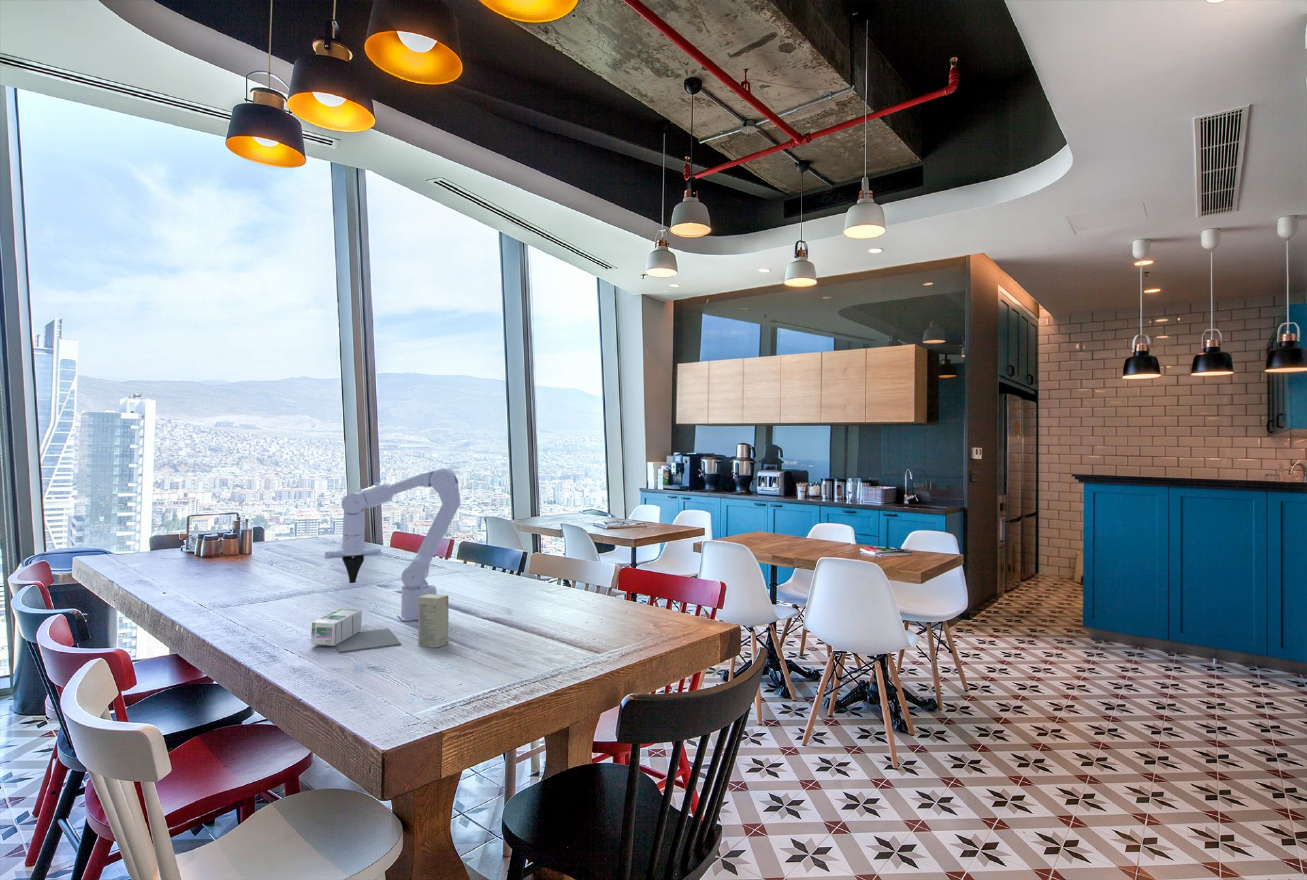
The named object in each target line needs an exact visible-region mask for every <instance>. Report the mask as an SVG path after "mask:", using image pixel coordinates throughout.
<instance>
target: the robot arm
mask: <svg viewBox="0 0 1307 880" xmlns="http://www.w3.org/2000/svg"><path fill="white" fill-rule="evenodd" d="M373 484H374V485H372V486H369V487H367V488H359V489H357V492H350V493H348V494H346V495H345V496H344V497H343V499H342V501H341V508H342V510H343V519H342V547H341V548H342V549H338V550H337V549H336V550H327V551H326V550H325V551H324V559H325V560H329V559H340V558H341V560H342V562H343V564H344V566H345V568H346V571H347V575H348V582H349V583H350V584H356V583H357V577H358V574H359V571H360V569H361V567H362V565H363V563H364V561H365V558H364V557H373V556H374V557H375V556H376V557H381V556H382V549H381V548H378V547H377V548H376V547H375V548H365V539H366V537H365V536H366V534H365V531H366V517H365V516H366V515H365V513H366V508H367V509H371V508H375V507H377V506H379V505H383V504H386V503H387V502H390V501H392V499H393V497H394V496H395V495H398V494H399V493H403V492H406V491H408V490H409V491H410V490H412V489H415V488H418V487H423V488H431V487H432V488H433V489H434V491H435V492H436V493H437V494H438V496H439V499H440V501H441V505H440V508H439V510H438V512H437V513H436V515H435V518H434V520H433V521H432V523H431V525H430V528H429V530H428V531H427V534H426V535H425V537H424V539H423V540H422V543H421V544H420V547H419V548H418V551H417V553H416V554H415V556H414V558H413V560H412V561H411V562H410V563H409V564H408V565H407V567H406V568H405V569H403V571H402V573H401V577H400V578H401V581H402V583H403V584H402V585H401V607H400V613H397V614H396V615H397V616H398V618H399V619H400V620H401V621H402V622H407V621H417V620H418V597H420V596H423V595H427V594H438V593H437V588H436V586H435V585H433V584H431V585H429V583H428V581H427V580H426V579H427V578H428V576H429V571H430V570H429V569H430V564H432V560H433V558H434V555H435V554H436V552H437V550H438V548H439V546H440V544H441V542H442V540H443V539H444V536H445V534H446V532H447V530H448V528H449V526H450V525H451V522H452V521H453V518H454V517H455V516H456V513H457V511H458V509H459V507H460V505H461V496H460V495H461V494H460V488H459V487H460V486H459V480H458V478H457V476H456V474H455V473H454V471H453V470H451V469H449V468H444V467H443V468H440V469H437V470H431V471H430V470H429V471H425V472H420V473H418V474H415V475H413V476H411V477H410V476H409V477H408V478H405V479H402V480H400V481H397V482H394V483H391V484H389V483H387V482H381V483H380V481H376V482H374V483H373Z"/></svg>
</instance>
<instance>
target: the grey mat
mask: <svg viewBox="0 0 1307 880" xmlns="http://www.w3.org/2000/svg"><path fill="white" fill-rule="evenodd" d="M401 643H402V642H401V641H400V640H398V638H397V637H396V635H394V633H393V632H392V631H391V630H390V628H387V627H386V628H380V629H372V630H363V631H362V630H361V631H360V632H358V633H356V634H354V635H352V636H351V637H349V638H347V639H345V640H343V641H342V642H340V643H338V644H336V645H334V647H335V648H336V650H337V651H338V653H339V654H343V653H351V652H357V651H365V650H372V649H381V648H388V647H397V646H401V645H402V644H401ZM396 645H397V646H396Z"/></svg>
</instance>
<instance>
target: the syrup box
mask: <svg viewBox="0 0 1307 880" xmlns="http://www.w3.org/2000/svg"><path fill="white" fill-rule="evenodd" d="M362 615H363V610H362V609H358V608H357V609H354V608H353V609H352V608H340V609H337V610H335V611H334V612H331V613H329V614H327V615H325V616H323V617H320V618H319V619H315V620H314V621H312V623H311V631H310V632H311V641H310V642H311V643H310V644H311V645H313V646H314V645H315V646H323V647H325V646H329V647H332V646H333V647H335V645H336V644H338V643H340V642H342V641H343V640H345V639H347V638H349V637H351V636H352V635H354V634H356V633H358V632H362V618H363V616H362Z"/></svg>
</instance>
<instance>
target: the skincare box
mask: <svg viewBox="0 0 1307 880" xmlns="http://www.w3.org/2000/svg"><path fill="white" fill-rule="evenodd" d="M417 624H418V625H417V626H418V628H417V635H418V637H417V638H418V641H417V646H419V645H420V646H421V647H431V648H440V647H442V646H445V645H448V644H449V595H448V594H438V593H437V594H427V595H423V596H420V597H418V623H417Z"/></svg>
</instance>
